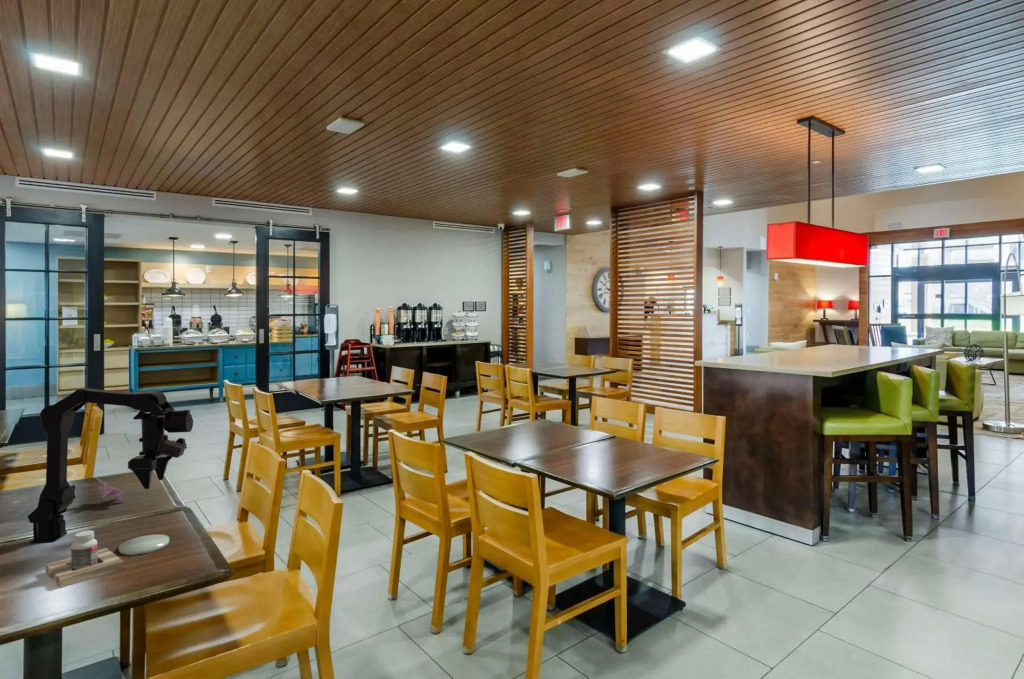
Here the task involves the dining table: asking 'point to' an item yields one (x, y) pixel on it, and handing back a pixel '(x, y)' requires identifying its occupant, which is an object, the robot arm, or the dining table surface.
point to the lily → (109, 491)
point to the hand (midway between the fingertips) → (154, 484)
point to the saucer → (143, 544)
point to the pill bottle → (84, 550)
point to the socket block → (83, 569)
